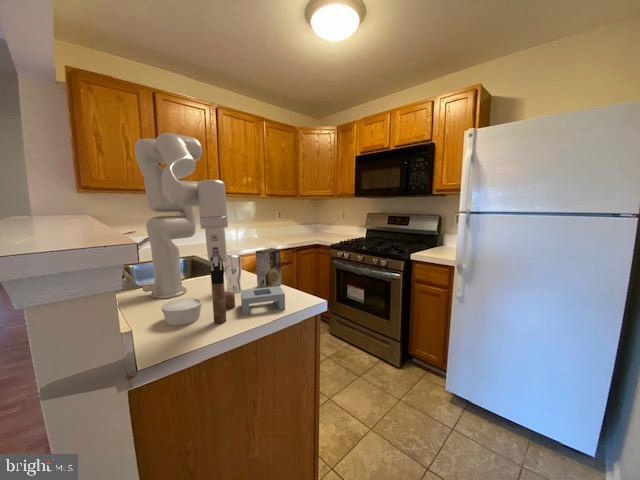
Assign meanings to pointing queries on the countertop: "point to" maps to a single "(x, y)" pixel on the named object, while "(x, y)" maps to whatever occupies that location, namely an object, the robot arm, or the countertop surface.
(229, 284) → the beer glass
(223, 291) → the tall brown wooden block
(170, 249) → the robot arm
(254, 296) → the hole bridge
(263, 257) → the coffee box
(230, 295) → the brown upright block
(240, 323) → the countertop surface
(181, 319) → the ramekin
